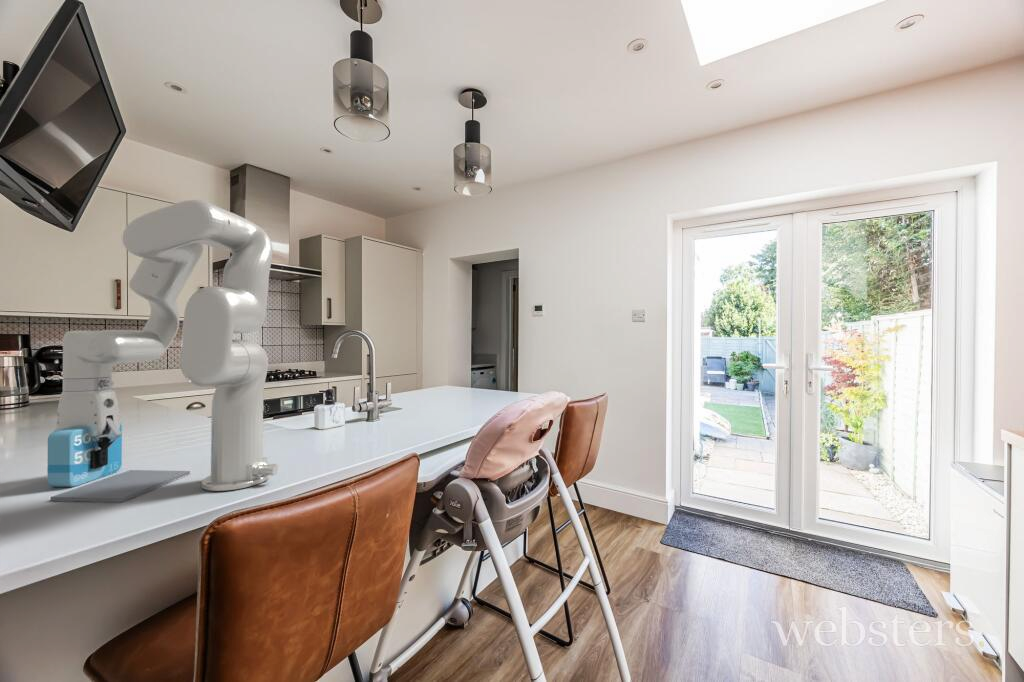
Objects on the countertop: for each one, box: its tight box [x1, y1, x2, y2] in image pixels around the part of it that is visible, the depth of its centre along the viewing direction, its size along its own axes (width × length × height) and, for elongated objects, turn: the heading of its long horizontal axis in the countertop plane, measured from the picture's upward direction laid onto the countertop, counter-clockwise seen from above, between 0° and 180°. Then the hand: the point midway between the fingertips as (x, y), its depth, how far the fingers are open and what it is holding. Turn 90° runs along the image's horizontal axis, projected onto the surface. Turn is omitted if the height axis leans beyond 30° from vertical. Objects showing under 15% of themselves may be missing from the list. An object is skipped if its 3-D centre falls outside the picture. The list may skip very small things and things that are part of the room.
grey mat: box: [50, 469, 191, 503], centre depth 85 cm, size 14×16×1 cm
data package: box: [46, 422, 123, 488], centre depth 89 cm, size 12×4×12 cm, turn 3°
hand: (87, 465), depth 89 cm, fingers closed on data package, 4 cm apart
